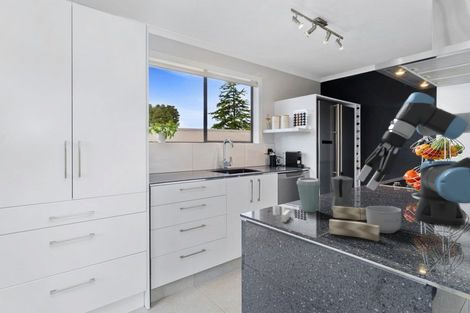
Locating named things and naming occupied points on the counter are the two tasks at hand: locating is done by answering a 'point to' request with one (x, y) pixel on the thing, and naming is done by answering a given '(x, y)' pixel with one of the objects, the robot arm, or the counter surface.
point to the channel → (352, 223)
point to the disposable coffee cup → (308, 193)
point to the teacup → (384, 218)
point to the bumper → (286, 216)
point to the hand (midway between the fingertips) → (364, 184)
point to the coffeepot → (341, 191)
